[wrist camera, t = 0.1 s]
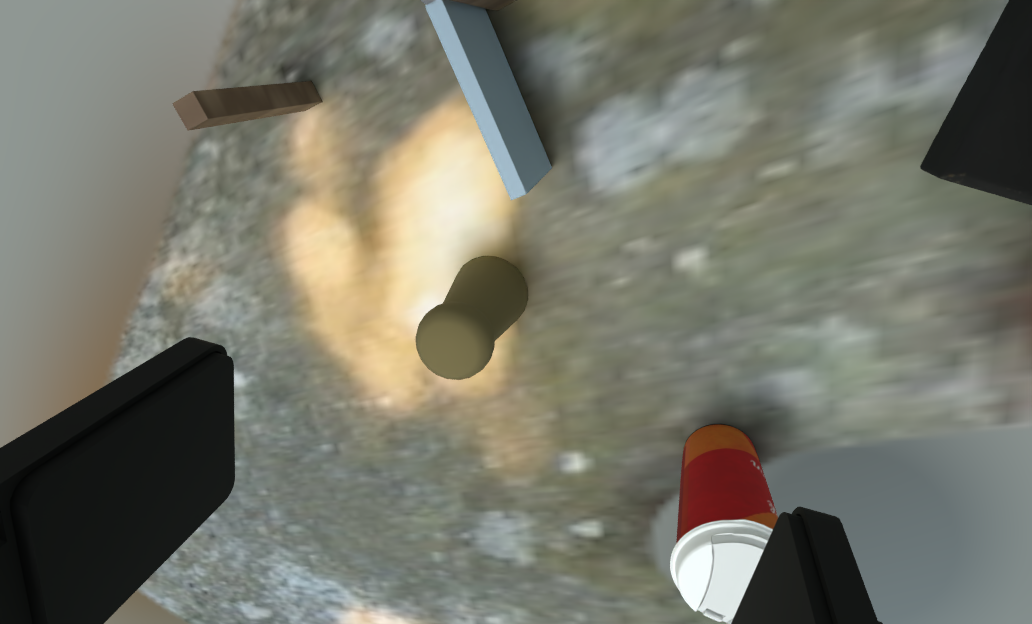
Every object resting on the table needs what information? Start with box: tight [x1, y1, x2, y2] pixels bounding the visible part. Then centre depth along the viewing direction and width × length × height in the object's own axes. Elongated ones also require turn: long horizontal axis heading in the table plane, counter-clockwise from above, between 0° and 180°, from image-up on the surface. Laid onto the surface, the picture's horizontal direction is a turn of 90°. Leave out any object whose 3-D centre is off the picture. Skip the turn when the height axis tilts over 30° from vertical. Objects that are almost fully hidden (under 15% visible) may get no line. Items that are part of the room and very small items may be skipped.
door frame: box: [173, 0, 516, 130], centre depth 37 cm, size 2×27×13 cm, turn 114°
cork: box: [416, 256, 528, 380], centre depth 45 cm, size 6×6×11 cm
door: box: [421, 0, 552, 200], centre depth 40 cm, size 1×12×9 cm, turn 24°
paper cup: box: [670, 424, 778, 624], centre depth 45 cm, size 8×8×14 cm
